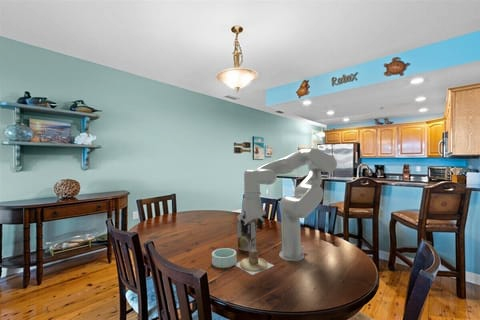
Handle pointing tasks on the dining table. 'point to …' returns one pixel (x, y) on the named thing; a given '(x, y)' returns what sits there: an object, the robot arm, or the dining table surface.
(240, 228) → the coffee box
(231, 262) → the bowl
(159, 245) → the dining table surface
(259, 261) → the lid
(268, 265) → the mat
